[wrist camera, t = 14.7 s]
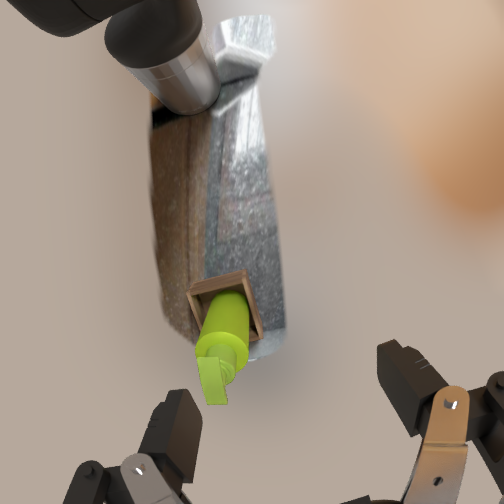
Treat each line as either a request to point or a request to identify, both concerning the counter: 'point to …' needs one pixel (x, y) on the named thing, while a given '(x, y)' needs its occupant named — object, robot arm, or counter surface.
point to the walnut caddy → (208, 288)
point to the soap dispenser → (223, 344)
